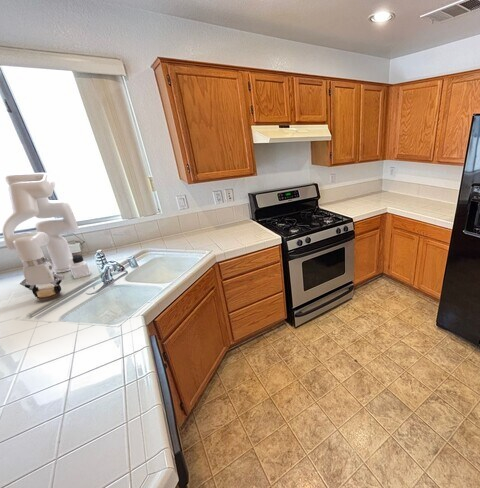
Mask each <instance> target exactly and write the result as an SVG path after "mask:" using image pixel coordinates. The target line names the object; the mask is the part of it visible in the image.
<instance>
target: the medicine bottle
mask: <svg viewBox="0 0 480 488" xmlns="http://www.w3.org/2000/svg"><path fill="white" fill-rule="evenodd" d="M68 260H69V262H70V264H69V267H70V272H71V275H72V276H73V278H74V279H75V280H76V279H80V278H84V277H86V276H91V271H90V268H89V266H88V263H87V262H86V261H85V260H84V258H83V255H80V254H75V255H73V256H72V257H70V258H69V259H68Z"/></svg>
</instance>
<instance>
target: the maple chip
mask: <svg viewBox="0 0 480 488" xmlns="http://www.w3.org/2000/svg"><path fill="white" fill-rule="evenodd" d="M36 293H37V295H38V297H48V296H51V295H54V294H56V292H55V289H54V285H53V284H51V285H46V286H44V287H43V286H42V287H40V288H38V290H37V291H36Z"/></svg>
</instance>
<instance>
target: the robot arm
mask: <svg viewBox="0 0 480 488" xmlns="http://www.w3.org/2000/svg"><path fill="white" fill-rule="evenodd" d="M5 182H6V184H7V185H8V193H9V198H10V199H9V200H10V203H11V209H12V214H11V215H10V216H9V217H8V218H7V219H6V220H5V222H4V224H3V226H2V236H3V237H2V238H3V241H4V245H5V246H6V248H7V249H9V250H11V251H16V252H17V255H18V256H19V259H20V261H21V263H22V265H23V266H22V274H23V277H24V279H23V280H22V281H21V282H20V283H19V285H21V286H23V287H24V288H26V289H29V291H31V292H32V295H33V296H34V297H35V298H37V296H38V295H37V293H36V291H37V290H38V289H39V287H38V285H44V284H45V285H46V284H50V285H54V289H55V292H56V293H57V294H58V293H59V292H62V288H61V285H60V284H61V283H62V282H63V281H64V279H65V276H64V275H61V274H60V273H66V272H71V270H70V267H69V264H70V262H69V260H68V259H69V258H70V257H72V256H74V255H73V253H72V250H71V248H70V245H69V242H68V240H67V239H66V238H65V237H63V236H62V235H65V234H73V233H76V232H77V231H78V230H79V225H78V223H77V220H76V217H75V214H74V212H73V210H72V208H71V205H70V204H69V203H68V201H66V200H63V199H56V200H50V198H51V197H52V196H53V194H54V190H55V187H56V181H55V178H54V177H53V175H52V174H50V173H48V172H30V173H28V172H27V173H12V174H8V175H6V176H5ZM34 217H35V218H37V219H42V220H39V221H37V222H36V223H35V229H36V231H35V232H34V231H32V232H24V233H16V234H15V230H16V228H17V227H18V226H19V225H21V224H22V223H24V222H26V221H28V220H30V219H32V218H34ZM43 247H45V248H46V250H47V253H48V255H49V257H46V256H45V255H44V252H43V250H42V248H43ZM50 260H51V262H52V263H51V262H50Z"/></svg>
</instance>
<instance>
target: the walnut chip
mask: <svg viewBox="0 0 480 488" xmlns="http://www.w3.org/2000/svg"><path fill="white" fill-rule="evenodd" d="M61 296H62V291H60V292H59V293H58V294H57V293H56V294H54V295H51V296H48V297H38V296H37V297H36V299H37V301H38V302H39V303H46V302H50V301H53V300H57V299H58V298H60V297H61Z"/></svg>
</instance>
